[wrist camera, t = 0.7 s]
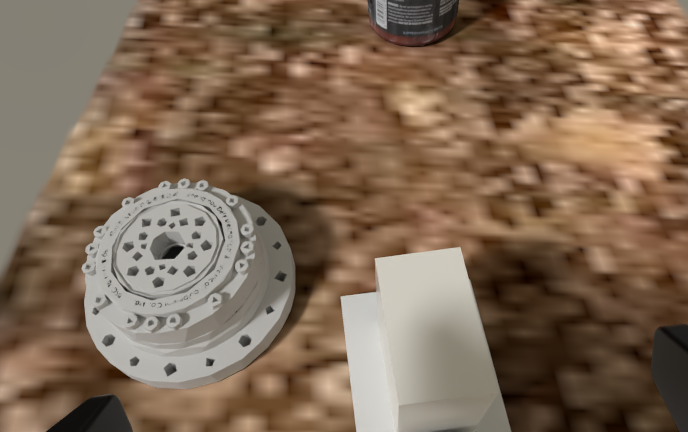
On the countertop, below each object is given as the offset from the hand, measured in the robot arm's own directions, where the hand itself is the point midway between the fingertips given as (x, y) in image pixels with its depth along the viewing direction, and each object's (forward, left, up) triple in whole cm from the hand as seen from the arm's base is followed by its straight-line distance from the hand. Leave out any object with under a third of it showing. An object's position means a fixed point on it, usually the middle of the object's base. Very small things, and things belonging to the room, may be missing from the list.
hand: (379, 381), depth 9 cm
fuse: (+4, -2, -13) cm, 14 cm away
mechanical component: (+10, +8, -15) cm, 19 cm away
